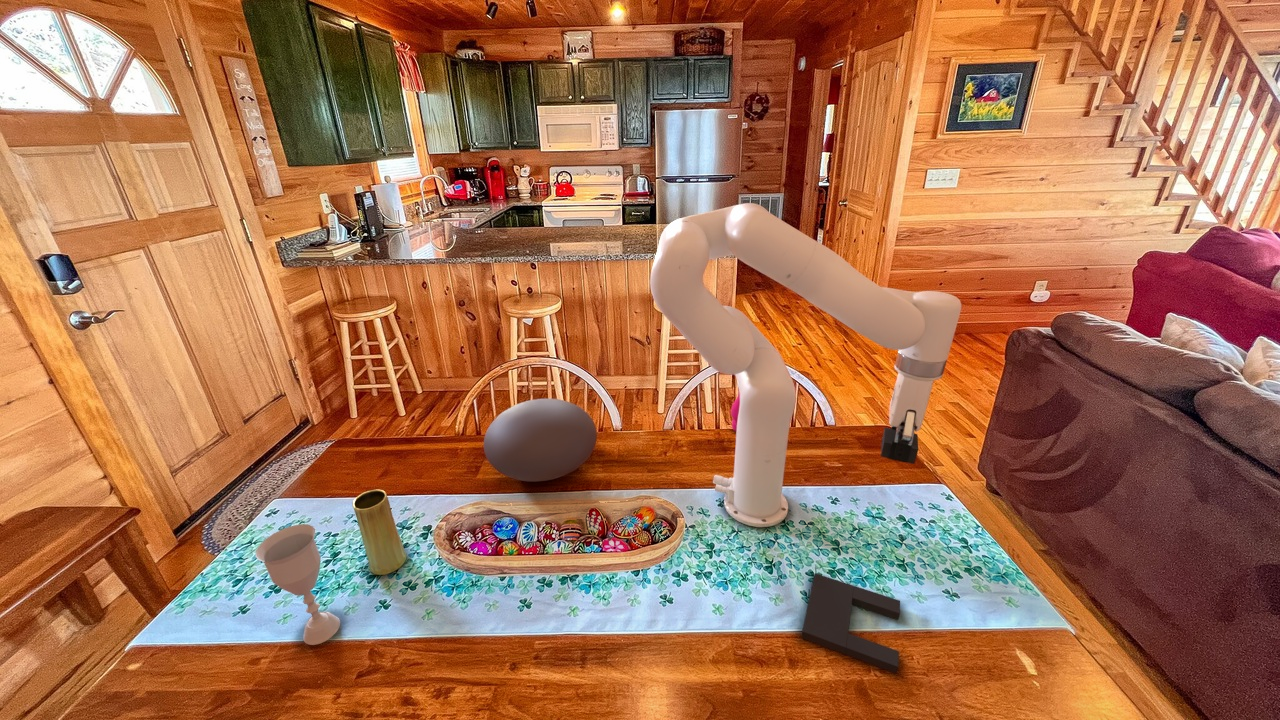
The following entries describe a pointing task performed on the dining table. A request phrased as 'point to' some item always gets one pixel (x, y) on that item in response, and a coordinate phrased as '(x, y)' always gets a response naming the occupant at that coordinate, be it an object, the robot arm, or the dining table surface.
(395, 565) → the vase
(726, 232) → the robot arm
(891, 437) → the connector pad
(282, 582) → the chalice
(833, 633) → the base pad
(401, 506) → the dining table surface
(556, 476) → the flattened ellipsoid
